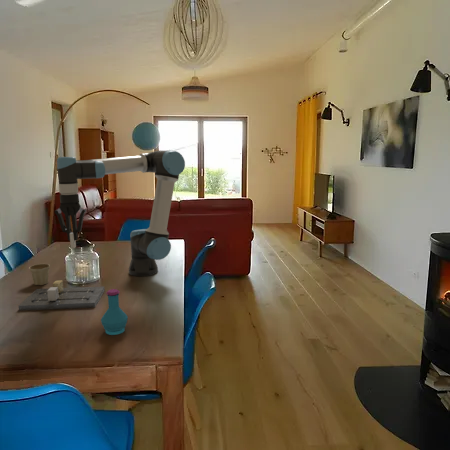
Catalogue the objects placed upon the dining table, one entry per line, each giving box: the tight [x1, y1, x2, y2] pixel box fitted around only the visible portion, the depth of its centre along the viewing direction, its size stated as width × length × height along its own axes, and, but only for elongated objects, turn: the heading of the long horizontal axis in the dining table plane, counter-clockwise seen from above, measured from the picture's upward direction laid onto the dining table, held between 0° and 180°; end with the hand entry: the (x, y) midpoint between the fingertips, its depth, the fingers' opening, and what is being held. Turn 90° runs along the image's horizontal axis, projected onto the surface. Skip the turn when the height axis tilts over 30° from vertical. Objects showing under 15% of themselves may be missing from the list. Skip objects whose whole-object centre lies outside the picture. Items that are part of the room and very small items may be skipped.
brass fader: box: [52, 279, 64, 293], centre depth 175 cm, size 3×4×4 cm
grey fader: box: [47, 286, 59, 301], centre depth 166 cm, size 3×4×4 cm
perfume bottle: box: [100, 288, 129, 336], centre depth 141 cm, size 9×9×15 cm
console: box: [18, 286, 105, 311], centre depth 172 cm, size 30×20×2 cm, turn 96°
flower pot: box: [28, 263, 51, 286], centre depth 193 cm, size 9×9×9 cm
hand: (73, 247), depth 173 cm, fingers closed
